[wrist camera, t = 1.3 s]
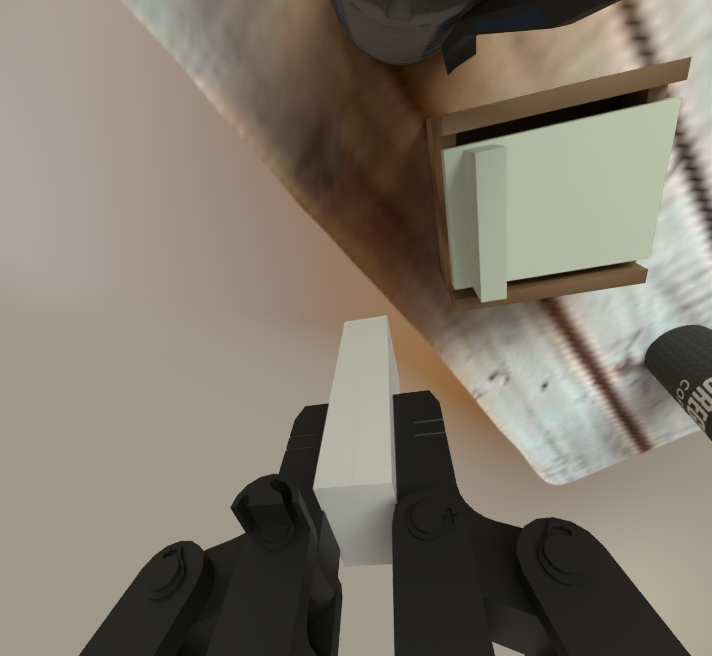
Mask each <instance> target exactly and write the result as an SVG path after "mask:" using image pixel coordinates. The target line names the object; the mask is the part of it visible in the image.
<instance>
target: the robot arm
mask: <svg viewBox="0 0 712 656" xmlns="http://www.w3.org/2000/svg"><path fill="white" fill-rule="evenodd" d="M231 510H232V511H233V513H234V514H235V516H236V518H237V519H238V521H239V522H240V524H241V525H242V527H243V529H244V530H245V532H246V533H244V534H242V535H240V536H238V537H236V538H234V539H232V540H230V541H227V542H224V543H222V544H220V545H217V546H215V547H212V548H210V549H207V550H205V551H203V550H202V549H201V547H200V546H199V545H197V544H195V543H194V542H192V541H180V542H177V543H174V544H172V545H169V546H167V547H166V548H164V549H163V550H161V551H160V552H159V553H158V554H156V555H155V556H154V557H153V558H152V559H151V560H150V561H149V562H148V563H147V564H146V565H145V566H144V567H143V569H142V570H141V571H140V572H139V574H138V575H137V577H136V578H135V579H134V581H133V582H132V584H131V585H130V586H129V588H128V589H127V590H126V592H125V593H124V594H123V596H122V597H121V598H120V600H119V601H118V603H117V604H116V605H115V607H114V608H113V609H112V611H111V612H110V614H109V615H108V616H107V618H106V619H105V620H104V622H103V623H102V625H101V626H100V627H99V629H98V630H97V631H96V633H95V634H94V635H93V637H92V638H91V640H90V641H89V642H88V644H87V645H86V646H85V648H84V649H83V650H82V652H81V653H80V655H79V656H338V646H339V633H340V621H341V608H342V588H341V583H340V581H339V579H338V569H339V559H340V558H339V557H340V555H341V558H342V560H343V562H344V565H345V566H352V565H376V564H393V603H394V649H395V656H495V654H494V649H493V645H492V642H495V643H497V644H500V645H502V646H505V647H507V648H510V649H512V650H515V651H517V652H520V653H522V654H524V655H525V656H691V655H690V654H689V653H688V652H687V651H686V649H685V648H684V646H683V645H682V644H681V643H680V641H679V640H678V639H677V638H676V636H675V635H674V634H673V633H672V631H671V630H670V629H669V628H668V626H667V625H666V624H665V623H664V621H663V620H662V619H661V617H660V616H659V615H658V614H657V613H656V611H655V610H654V609H653V607H652V606H651V605H650V604H649V602H648V601H647V600H646V599H645V597H644V596H643V595H642V594H641V592H640V591H639V590H638V589H637V587H636V586H635V585H634V583H633V582H632V581H631V580H630V578H629V577H628V576H627V575H626V573H625V572H624V571H623V570H622V568H621V567H620V566H619V565H618V563H617V562H616V561H615V560H614V558H613V557H612V556H611V555H610V553H609V552H608V551H607V549H606V548H605V547H604V546H603V545H602V544H601V543H600V542H599V541H598V540H597V539H596V538H595V537H594V536H593V535H592V534H591V533H589V532H588V531H587V530H585V529H583V528H581V527H580V526H578V525H576V524H574V523H572V522H571V521H566V520H562V519H558V518H554V517H550V518H540V519H536V520H534V521H532V522H531V523H529V524H527V525H525V526H524V528H520V527H516V526H512V525H508V524H505V523H501V522H497V521H494V520H491V519H488V518H486V517H484V516H482V515H480V514H479V513H477V512H476V511H474V510H473V509H472V508H471V507H470V506H469V505H468V504H467V503H465V501H464V499H463V498H462V496H461V495H460V493H459V490H458V487H457V484H456V479H455V474H454V470H453V465H452V460H451V455H450V450H449V446H448V441H447V436H446V432H445V427H444V422H443V418H442V413H441V407H440V403H439V401H438V400H437V399H436V398H435V397H434V396H433V394H432V393H431V392H430V391H429V390H427V391H419V392H411V393H402V394H400V387H399V376H398V370H397V365H396V360H395V355H394V349H393V344H392V339H391V334H390V328H389V323H388V318H387V315H385V316H378V317H372V318H366V319H359V320H353V321H346V322H345V323H344V328H343V333H342V338H341V344H340V349H339V354H338V359H337V365H336V371H335V376H334V381H333V386H332V391H331V396H330V401H329V403H328V404H320V405H312V406H305V407H304V409H303V410H302V411H301V413H300V414H299V415H298V416H297V418H296V419H295V421H294V425H293V428H292V431H291V434H290V438H289V441H288V444H287V451H285V454H284V458H283V461H282V465H281V468H280V472H279V474H271V475H267V476H263V477H260V478H258V479H257V480H255V481H253V482H252V483H250V484H248V485H247V486H246V487H245V488H244V489H243V490H242V491H241V492H240V493H239V494H238V495H237V497H236V499H235V501H234V502H233V504H232V506H231Z"/></svg>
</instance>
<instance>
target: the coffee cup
mask: <svg viewBox="0 0 712 656" xmlns="http://www.w3.org/2000/svg"><path fill="white" fill-rule="evenodd" d="M645 363H646V366H647V368H648V370H649V371H650V372H651V373H652V374H653V375H654V376H655V377H656V379H657V380H658V381H659V382H660V383H661V384H662V385H663V386H664V388H665V389H666V390H667V391H668V392H669V393H670V394H671V395H672V397H673V398H674V399H675V400H676V401H677V402H678V403H679V405H680V406H681V407H682V408H683V409H684V410H685V411H686V412H687V414H688V415H689V416H690V417H691V418H692V419H693V420H694V421H695V423H696V424H697V425H698V426H699V427H700V428H701V429H702V430H703V432H704V433H705V434H706V435H707V436H708V437H709V438H710V440H711V441H712V330H711V329H709V328H706V327H704V326H699V325H687V326H682V327H678V328H675V329H673V330H670V331H668V332H667V333H665V334H663V335H662V336H660V337H659V338H658V339H657V340H656V341H655V342H654V343H653V344H652V345H651V346H650V348H649V349H648V351H647V353H646V357H645Z"/></svg>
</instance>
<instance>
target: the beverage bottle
mask: <svg viewBox="0 0 712 656" xmlns="http://www.w3.org/2000/svg"><path fill="white" fill-rule="evenodd" d="M618 1H620V0H332V3H333V6H334V8H335V11H336V14H337V16H338V19H339V21H340V23H341V25H342V27H343V28H344V30H345V32H346V33H347V35H348V37H349V38H350V39H351V40H352V41H353V42H354V43H355V44H356V46H357V47H358V48H359V49H360V50H362V51H363V52H364V53H366V54H367V55H369V56H370V57H371V58H374V59H376V60H378V61H381V62H383V63H387V64H393V65H409V64H414V63H417V62H421V61H424V60H426V59H428V58H430V57H432V56H433V55H435V54H437V53H439V52H440V51H441V50H442V52H443V57H444V61H445V65H446V69H447V74H448V75H449V74H450V73H451V72H452V71H453V70H454V69H455V68H456V67H458V66H459V65H461V64H462V63H463V62H465V61H466V60H468V59H469V58H471V57H472V56H473V55H475V54H476V36H477V35H480V34H492V33H504V32H515V31H527V30H539V29H551V28H556V27H560V26H565V25H569V24H572V23H574V22H577V21H579V20H581V19H583V18H585V17H587V16H589V15H591V14H593V13H595V12H597V11H599V10H601V9H603V8H605V7H608V6H610V5H612V4H614V3H616V2H618Z"/></svg>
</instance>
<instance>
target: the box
mask: <svg viewBox="0 0 712 656" xmlns="http://www.w3.org/2000/svg"><path fill="white" fill-rule="evenodd" d="M690 62H691V57H689V58H685V59H680V60H676V61H671V62H667V63H662V64H658V65H653V66H649V67H644V68H640V69H635V70H631V71H626V72H622V73H617V74H613V75H608V76H604V77H600V78H596V79H591V80H587V81H583V82H579V83H575V84H571V85H567V86H562V87H558V88H554V89H550V90H546V91H542V92H538V93H533V94H529V95H525V96H521V97H517V98H513V99H509V100H504V101H500V102H496V103H492V104H488V105H484V106H479V107H475V108H471V109H467V110H463V111H459V112H455V113H450V114H446V115H442V116H438V117H434V118H430V119H426V128H427V139H428V149H429V159H430V169H431V179H432V189H433V199H434V209H435V220H436V230H437V240H438V250H439V260H440V270H441V274H442V276H443V279H444V281H445V284H446V286H447V289H448V291H449V294H450V296H451V299H452V301H453V304H454V306H455V309H456V311H457V312H458V311H465V310H471V309H478V308H484V307H491V306H497V305H504V304H510V303H517V302H524V301H530V300H537V299H543V298H550V297H556V296H563V295H569V294H576V293H582V292H589V291H595V290H602V289H608V288H615V287H621V286H628V285H634V284H641V283H645V282H646V277H647V272H648V269H646V268H644V267H642V266H640V265H639V264H637V263H635V262H636V260H635V261H629V262H622V263H616V264H610V265H604V266H598V267H592V268H586V269H579V270H573V271H567V272H561V273H555V274H549V275H543V276H537V277H530V278H524V279H518V280H512V281H507V299H501V300H494V301H488V302H481V301H480V299H479V297H478V296H477V294H476V292H475V290H474V288H473V287H469V288H463V289H457V290H455V289H454V287H453V285H452V278H451V266H450V254H449V242H448V230H447V218H446V206H445V194H444V182H443V170H442V158H441V149H446V148H450V147H455V146H459V145H464V144H468V143H472V142H477V141H481V140H486V139H490V138H495V137H499V136H503V135H508V134H512V133H517V132H521V131H525V130H530V129H534V128H539V127H543V126H548V125H552V124H556V123H561V122H565V121H570V120H574V119H579V118H583V117H587V116H592V115H596V114H601V113H605V112H610V111H614V110H618V109H623V108H627V107H632V106H636V105H640V104H645V103H649V102H654V101H658V100H663V99H666V93H667V88H668V84H670V83H675V82H679V81H683V80H687V77H688V72H689V67H690Z"/></svg>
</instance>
